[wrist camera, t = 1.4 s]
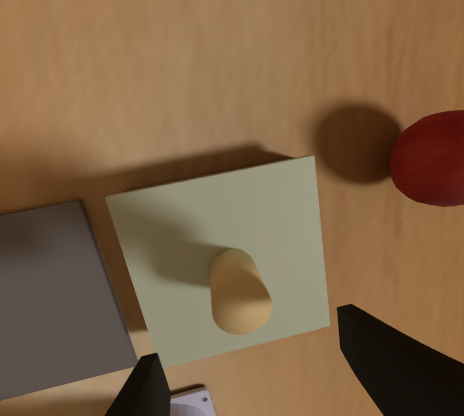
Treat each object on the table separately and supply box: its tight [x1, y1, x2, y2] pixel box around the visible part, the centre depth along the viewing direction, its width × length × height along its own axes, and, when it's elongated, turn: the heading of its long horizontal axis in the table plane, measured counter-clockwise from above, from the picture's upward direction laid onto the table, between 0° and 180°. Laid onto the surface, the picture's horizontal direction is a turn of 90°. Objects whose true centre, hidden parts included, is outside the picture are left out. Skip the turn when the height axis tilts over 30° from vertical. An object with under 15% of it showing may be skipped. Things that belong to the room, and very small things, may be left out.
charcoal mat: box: [0, 199, 138, 401], centre depth 18 cm, size 14×14×1 cm
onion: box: [389, 110, 464, 207], centre depth 15 cm, size 6×6×8 cm
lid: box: [105, 155, 330, 369], centre depth 15 cm, size 12×12×5 cm
